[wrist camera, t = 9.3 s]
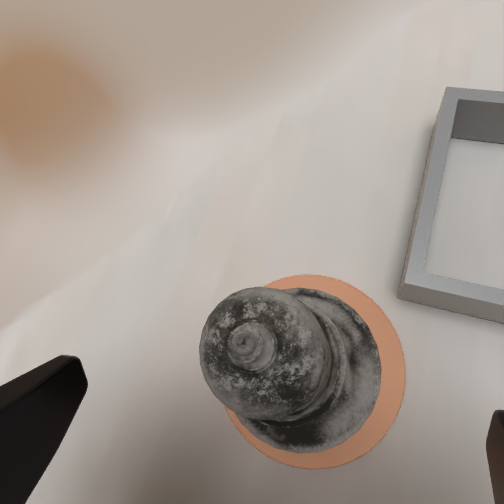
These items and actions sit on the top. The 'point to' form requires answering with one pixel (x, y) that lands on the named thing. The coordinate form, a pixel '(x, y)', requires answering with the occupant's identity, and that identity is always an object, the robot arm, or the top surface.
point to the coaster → (389, 386)
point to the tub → (447, 125)
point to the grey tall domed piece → (292, 366)
